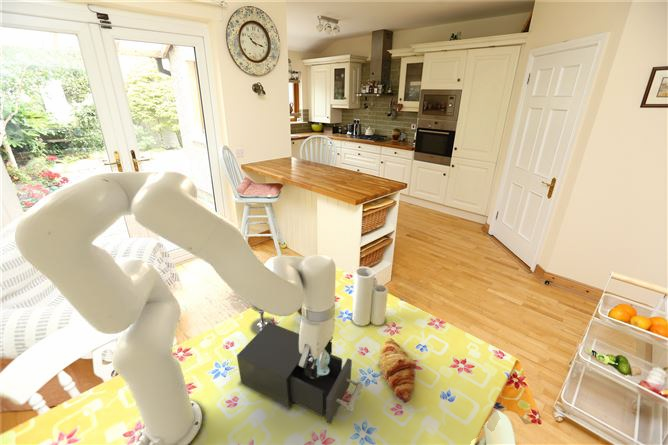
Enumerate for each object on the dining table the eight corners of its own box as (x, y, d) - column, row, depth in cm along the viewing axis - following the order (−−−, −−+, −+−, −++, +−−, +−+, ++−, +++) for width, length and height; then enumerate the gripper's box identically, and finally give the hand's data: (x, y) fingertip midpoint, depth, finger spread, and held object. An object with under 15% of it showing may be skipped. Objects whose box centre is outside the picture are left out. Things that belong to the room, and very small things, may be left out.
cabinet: (314, 366, 85) (314, 340, 81) (288, 408, 74) (286, 379, 70) (271, 347, 91) (268, 321, 87) (241, 383, 80) (236, 355, 76)
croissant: (379, 351, 95) (369, 334, 92) (407, 339, 93) (398, 322, 90) (394, 416, 75) (382, 398, 72) (431, 402, 74) (420, 383, 71)
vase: (353, 326, 100) (356, 278, 92) (350, 312, 107) (353, 265, 98) (385, 324, 101) (391, 276, 93) (381, 310, 108) (385, 264, 99)
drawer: (365, 389, 78) (367, 366, 74) (347, 433, 68) (348, 409, 64) (305, 362, 85) (304, 340, 82) (280, 398, 75) (278, 375, 72)
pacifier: (304, 381, 70) (329, 381, 70) (303, 362, 67) (329, 362, 67) (307, 356, 76) (329, 356, 76) (306, 338, 74) (329, 338, 74)
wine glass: (246, 330, 98) (240, 294, 92) (261, 315, 104) (257, 280, 98) (265, 338, 95) (261, 301, 89) (279, 322, 101) (276, 287, 95)
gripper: (321, 282, 74) (321, 334, 81) (282, 327, 60) (286, 385, 67) (348, 290, 71) (346, 344, 78) (313, 339, 57) (314, 399, 64)
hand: (318, 363), depth 73 cm, fingers closed on pacifier, 7 cm apart
